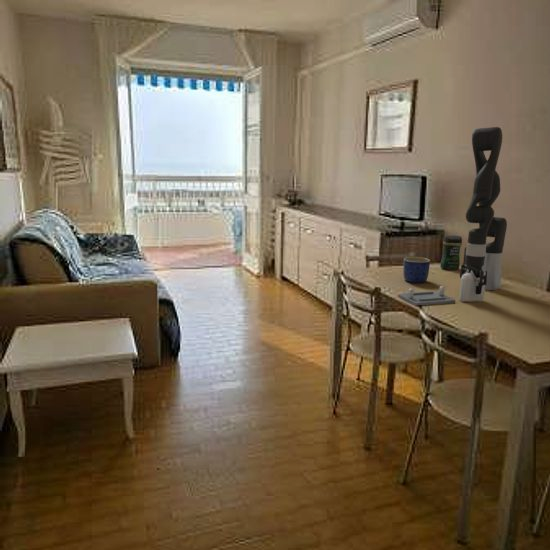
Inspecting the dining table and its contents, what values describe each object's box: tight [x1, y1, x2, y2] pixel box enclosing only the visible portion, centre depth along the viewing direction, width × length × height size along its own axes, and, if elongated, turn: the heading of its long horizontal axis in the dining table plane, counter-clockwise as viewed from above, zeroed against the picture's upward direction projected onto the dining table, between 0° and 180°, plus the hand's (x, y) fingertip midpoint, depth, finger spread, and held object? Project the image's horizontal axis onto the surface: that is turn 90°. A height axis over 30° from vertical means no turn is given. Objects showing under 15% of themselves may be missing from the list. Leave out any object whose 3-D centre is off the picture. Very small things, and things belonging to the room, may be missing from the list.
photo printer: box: [458, 273, 485, 302], centre depth 204 cm, size 10×4×12 cm, turn 98°
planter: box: [403, 256, 431, 284], centre depth 237 cm, size 12×12×11 cm
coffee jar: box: [439, 235, 463, 271], centre depth 262 cm, size 10×8×19 cm
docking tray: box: [397, 285, 456, 307], centre depth 206 cm, size 19×14×5 cm
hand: (471, 291), depth 204 cm, fingers open, 8 cm apart
